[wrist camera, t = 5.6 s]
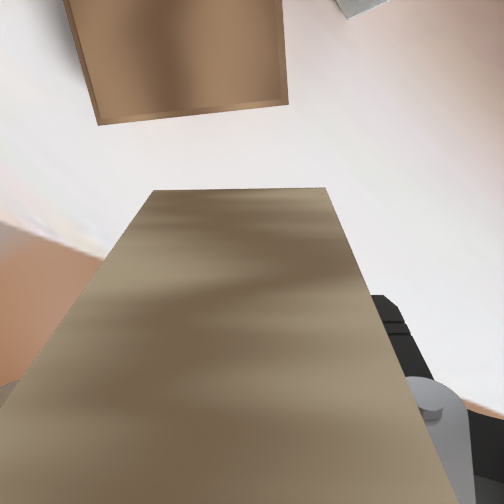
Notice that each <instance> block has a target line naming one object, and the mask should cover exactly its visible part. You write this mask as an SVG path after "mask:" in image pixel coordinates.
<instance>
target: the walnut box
mask: <svg viewBox="0 0 504 504" xmlns="http://www.w3.org/2000/svg"><path fill="white" fill-rule="evenodd" d="M63 1H64V5H65V8H66V12H67V16H68V19H69V23H70V27H71V30H72V34H73V37H74V41H75V45H76V48H77V52H78V55H79V59H80V63H81V66H82V70H83V74H84V77H85V81H86V84H87V88H88V92H89V95H90V99H91V102H92V106H93V110H94V113H95V117H96V120H97V124H98V126H100V125H109V124H118V123H127V122H136V121H145V120H154V119H163V118H173V117H182V116H191V115H200V114H209V113H218V112H227V111H236V110H245V109H254V108H263V107H272V106H281V105H289V102H288V86H287V71H286V56H285V40H284V25H283V10H282V0H63Z"/></svg>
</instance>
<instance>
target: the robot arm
mask: <svg viewBox="0 0 504 504" xmlns="http://www.w3.org/2000/svg"><path fill="white" fill-rule="evenodd" d="M371 297H372V300H373V302H374V304H375V307H376V309H377V311H378V314H379V316H380V319H381V321H382V323H383V326H384V328H385V330H386V333H387V335H388V337H389V340H390V342H391V345H392V347H393V349H394V352H395V354H396V356H397V359H398V361H399V364H400V366H401V368H402V371H403V373H404V375H405V378H406V380H407V382H408V385H409V387H410V390H411V392H412V394H413V397H414V399H415V401H416V404H417V406H418V409H419V411H420V413H421V416H422V418H423V420H424V423H425V425H426V427H427V430H428V432H429V435H430V437H431V439H432V442H433V444H434V446H435V449H436V451H437V454H438V456H439V458H440V461H441V463H442V465H443V468H444V470H445V472H446V475H447V477H448V480H449V482H450V484H451V487H452V489H453V491H454V494H455V496H456V499H457V501H458V503H459V504H504V420H501V419H497V418H494V417H489V416H485V415H482V414H479V413H475V412H473V411H470V410H468V409H466V407H465V405H464V403H463V401H462V400H461V399H460V398H459V396H458V395H457V394H456V393H454V392H453V391H452V390H451V389H449V388H448V387H446V386H445V385H443V384H441V383H439V382H437V381H435V380H434V378H433V376H432V374H431V372H430V370H429V368H428V366H427V364H426V362H425V360H424V358H423V357H422V355H421V353H420V351H419V349H418V347H417V345H416V343H415V341H414V339H413V337H412V336H411V333H410V331H409V329H408V327H407V325H406V324H405V321H404V319H403V317H402V315H401V313H400V311H399V309H398V307H397V306H396V305H395V304H393V303H392V302H391V301H390V300H389V299H387V298H386V297H385V296H384V295H371ZM19 381H20V380H17V381H13V382H11V383H8V384H6V385H4V386H2V387H0V408H1V406H2V405H3V403H4V402H5V401H6V399H7V398H8V396H9V395H10V393H11V392H12V391H13V389H14V388H15V386H16V385H17V383H18V382H19Z"/></svg>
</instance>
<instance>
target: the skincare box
mask: <svg viewBox="0 0 504 504" xmlns="http://www.w3.org/2000/svg"><path fill="white" fill-rule="evenodd" d="M336 1H337V3H338V5H339V7H340V8H341V10H342V12H343V14H344V16H345V17H346V19H347V20H349V19H351V18H354V17H356V16H358V15H360V14H362V13H364V12H367V11H369V10H372V9H374V8H376V7H378V6H380V5H382V4H384V3H387V2H389V1H391V0H336Z"/></svg>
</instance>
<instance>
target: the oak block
mask: <svg viewBox="0 0 504 504" xmlns="http://www.w3.org/2000/svg"><path fill="white" fill-rule="evenodd" d="M0 504H459V503H458V501H457V499H456V496H455V494H454V491H453V489H452V487H451V484H450V482H449V480H448V477H447V475H446V472H445V470H444V468H443V465H442V463H441V461H440V458H439V456H438V454H437V451H436V449H435V446H434V444H433V442H432V439H431V437H430V435H429V432H428V430H427V427H426V425H425V423H424V420H423V418H422V416H421V413H420V411H419V409H418V406H417V404H416V401H415V399H414V397H413V394H412V392H411V390H410V387H409V385H408V382H407V380H406V378H405V375H404V373H403V371H402V368H401V366H400V364H399V361H398V359H397V356H396V354H395V352H394V349H393V347H392V345H391V342H390V340H389V337H388V335H387V333H386V330H385V328H384V326H383V323H382V321H381V319H380V316H379V314H378V311H377V309H376V307H375V304H374V302H373V300H372V297H371V295H370V292H369V290H368V288H367V285H366V283H365V281H364V278H363V276H362V274H361V271H360V269H359V266H358V264H357V262H356V259H355V257H354V255H353V252H352V250H351V247H350V245H349V243H348V240H347V238H346V236H345V233H344V231H343V229H342V226H341V224H340V221H339V219H338V217H337V214H336V212H335V210H334V207H333V205H332V202H331V200H330V198H329V195H328V193H327V191H326V188H269V189H210V190H153V192H152V193H151V195H150V196H149V198H148V199H147V200H146V202H145V203H144V205H143V206H142V207H141V209H140V210H139V212H138V213H137V215H136V216H135V217H134V219H133V220H132V222H131V223H130V225H129V226H128V227H127V229H126V230H125V232H124V233H123V234H122V236H121V237H120V239H119V240H118V242H117V243H116V244H115V246H114V247H113V249H112V250H111V251H110V253H109V254H108V256H107V257H106V259H105V260H104V261H103V263H102V264H101V266H100V267H99V269H98V270H97V272H96V273H95V274H94V276H93V277H92V278H91V280H90V281H89V283H88V284H87V286H86V287H85V288H84V290H83V291H82V293H81V294H80V296H79V297H78V298H77V300H76V301H75V303H74V304H73V305H72V307H71V308H70V310H69V311H68V313H67V314H66V315H65V317H64V318H63V320H62V321H61V323H60V324H59V325H58V327H57V328H56V330H55V331H54V333H53V334H52V335H51V337H50V338H49V340H48V341H47V342H46V344H45V345H44V347H43V348H42V350H41V351H40V352H39V354H38V355H37V357H36V358H35V359H34V361H33V362H32V364H31V365H30V366H29V368H28V369H27V371H26V372H25V374H24V375H23V376H22V378H21V379H20V381H19V382H18V383H17V385H16V386H15V388H14V389H13V391H12V392H11V393H10V395H9V396H8V398H7V399H6V401H5V402H4V403H3V405H2V406H1V408H0Z"/></svg>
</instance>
